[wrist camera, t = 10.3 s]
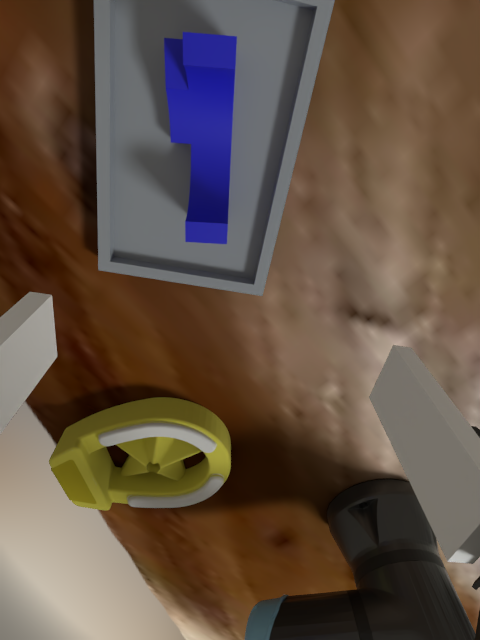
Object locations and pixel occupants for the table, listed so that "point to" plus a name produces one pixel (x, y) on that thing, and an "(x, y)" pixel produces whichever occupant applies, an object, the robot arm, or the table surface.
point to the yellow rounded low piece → (143, 455)
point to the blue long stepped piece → (203, 125)
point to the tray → (175, 158)
